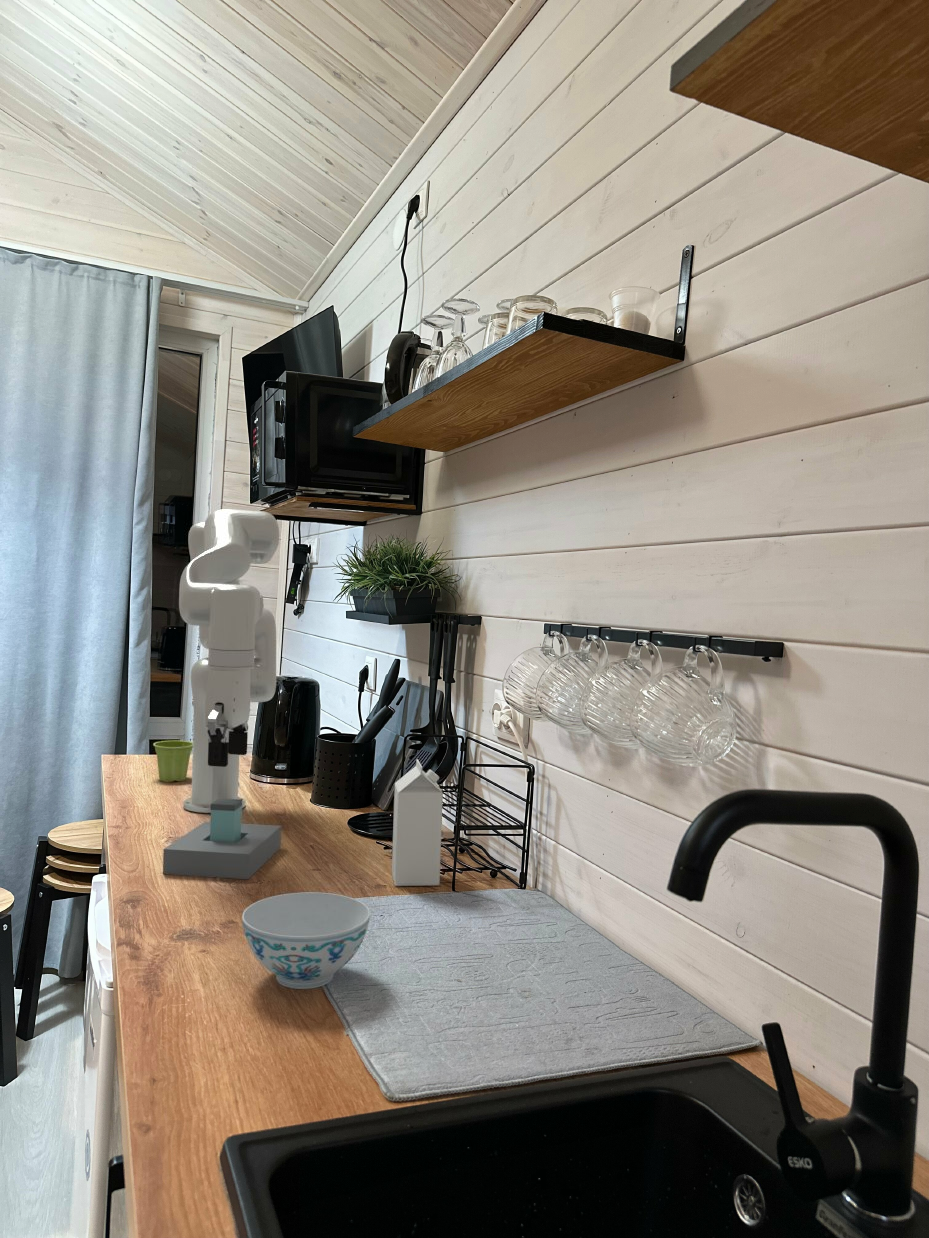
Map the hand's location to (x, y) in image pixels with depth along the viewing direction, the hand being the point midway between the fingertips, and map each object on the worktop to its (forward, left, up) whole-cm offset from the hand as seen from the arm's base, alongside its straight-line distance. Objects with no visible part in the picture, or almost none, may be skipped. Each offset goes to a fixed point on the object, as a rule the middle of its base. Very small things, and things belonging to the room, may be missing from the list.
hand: (227, 759), depth 151 cm
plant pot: (-59, -34, -17) cm, 71 cm away
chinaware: (+44, +25, -17) cm, 53 cm away
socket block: (+1, 0, -17) cm, 17 cm away
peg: (+1, 0, -17) cm, 17 cm away
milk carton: (+5, +33, -17) cm, 38 cm away
